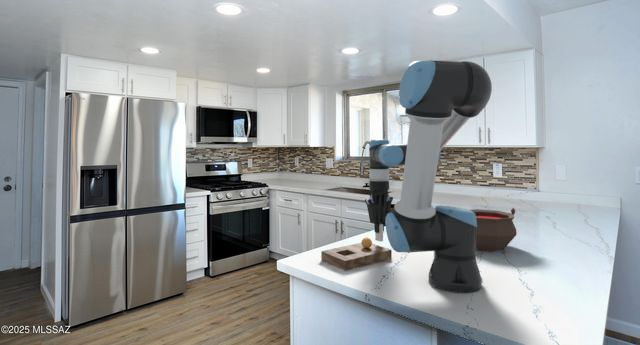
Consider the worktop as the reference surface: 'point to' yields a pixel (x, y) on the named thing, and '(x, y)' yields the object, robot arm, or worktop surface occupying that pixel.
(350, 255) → the wooden block with hole
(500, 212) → the brown pot
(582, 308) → the worktop surface
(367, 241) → the ball
